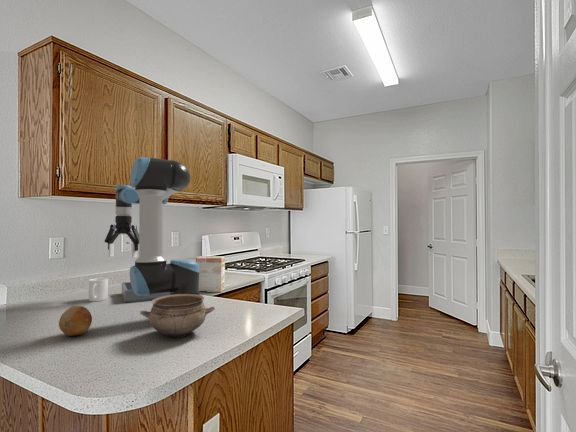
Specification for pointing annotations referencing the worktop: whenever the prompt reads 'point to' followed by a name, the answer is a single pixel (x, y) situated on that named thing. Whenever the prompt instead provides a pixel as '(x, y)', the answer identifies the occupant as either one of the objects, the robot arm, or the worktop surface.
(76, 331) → the onion
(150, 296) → the box
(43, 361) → the worktop surface
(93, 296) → the mug
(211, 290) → the coffeecake box
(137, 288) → the robot arm
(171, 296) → the cooking pot
